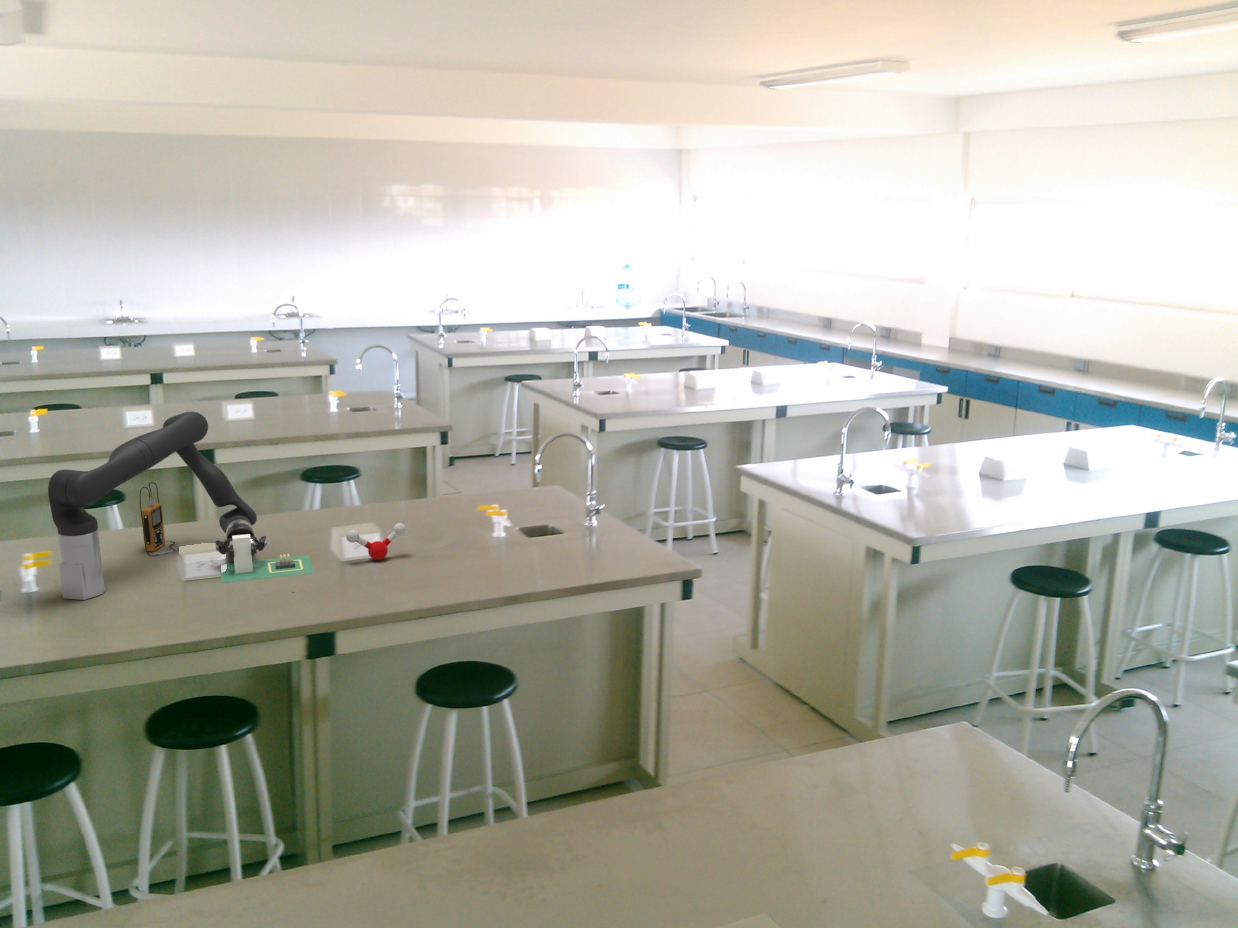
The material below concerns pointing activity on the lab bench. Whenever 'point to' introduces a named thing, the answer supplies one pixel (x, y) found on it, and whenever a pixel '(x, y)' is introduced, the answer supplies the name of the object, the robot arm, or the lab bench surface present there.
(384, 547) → the molecular model
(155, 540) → the multimeter
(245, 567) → the plug
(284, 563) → the pin header
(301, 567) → the circuit board
